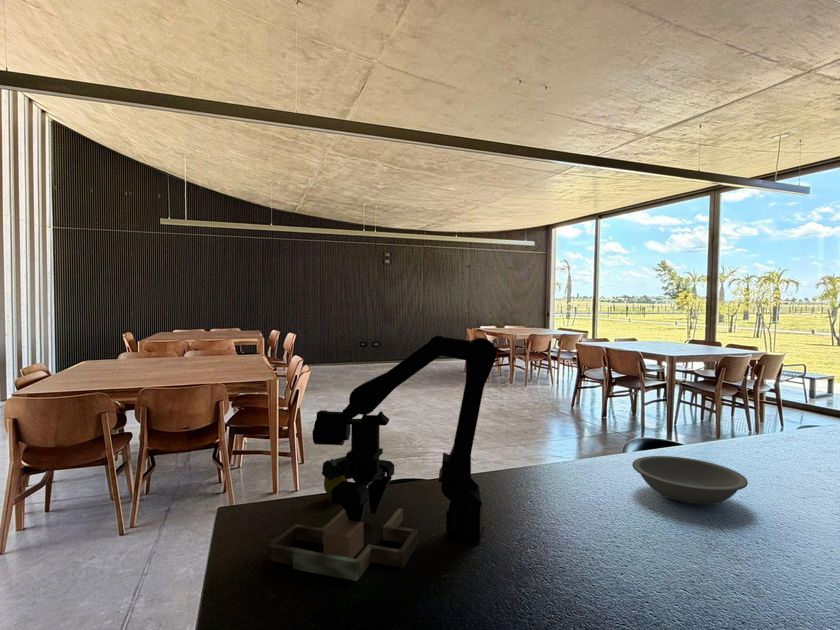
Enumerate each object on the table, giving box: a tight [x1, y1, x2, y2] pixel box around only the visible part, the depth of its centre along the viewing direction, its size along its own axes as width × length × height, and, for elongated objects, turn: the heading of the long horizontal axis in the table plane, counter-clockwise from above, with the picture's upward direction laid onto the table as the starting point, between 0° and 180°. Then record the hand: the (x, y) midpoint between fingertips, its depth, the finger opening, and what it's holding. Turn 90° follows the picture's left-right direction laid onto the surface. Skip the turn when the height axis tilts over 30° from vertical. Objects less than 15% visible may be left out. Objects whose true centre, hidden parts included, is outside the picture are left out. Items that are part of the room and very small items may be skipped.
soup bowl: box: [632, 455, 749, 505], centre depth 108 cm, size 24×24×7 cm
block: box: [323, 519, 365, 559], centre depth 82 cm, size 5×6×4 cm
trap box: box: [266, 507, 420, 582], centre depth 85 cm, size 24×23×3 cm
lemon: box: [323, 475, 349, 497], centre depth 106 cm, size 6×6×8 cm
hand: (364, 522), depth 90 cm, fingers open, 9 cm apart
